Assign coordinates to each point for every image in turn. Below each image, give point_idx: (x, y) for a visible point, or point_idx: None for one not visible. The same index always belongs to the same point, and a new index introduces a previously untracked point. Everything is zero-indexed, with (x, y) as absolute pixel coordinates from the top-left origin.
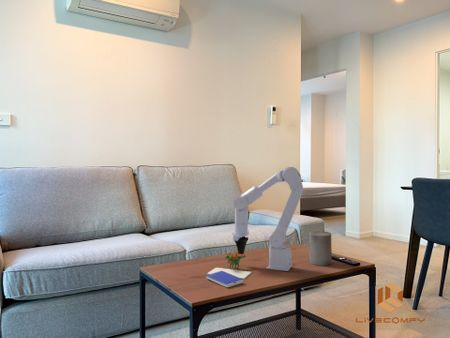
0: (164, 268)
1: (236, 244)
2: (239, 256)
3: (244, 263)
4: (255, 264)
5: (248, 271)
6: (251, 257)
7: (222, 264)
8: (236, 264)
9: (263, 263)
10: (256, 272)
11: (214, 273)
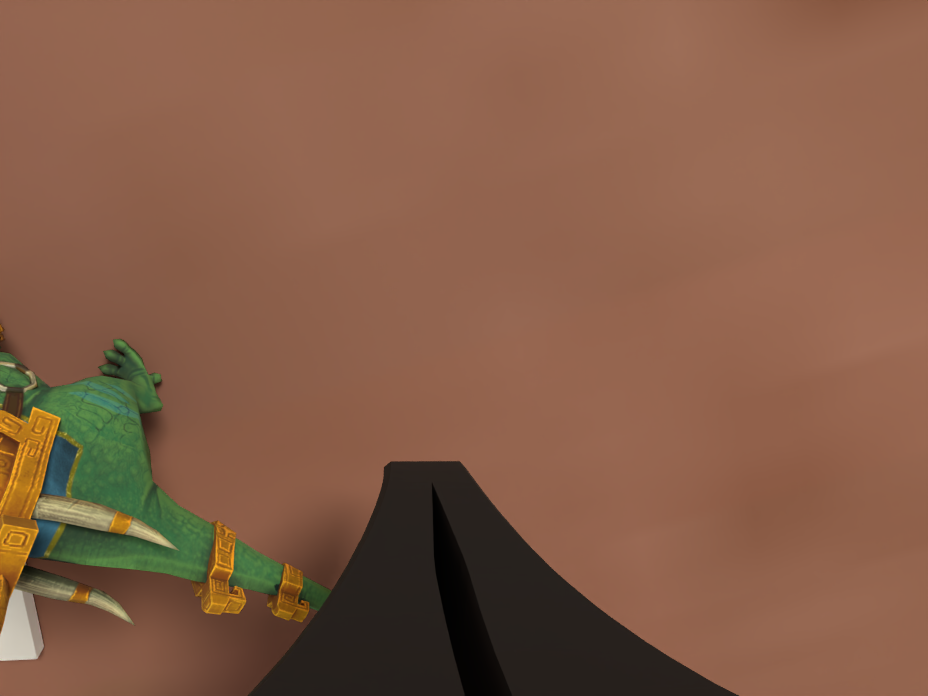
0: None
1: (296, 649)
2: (75, 591)
3: (519, 407)
4: None
5: (25, 622)
6: (909, 397)
7: (301, 18)
8: (149, 410)
9: None
10: (106, 687)
11: None
